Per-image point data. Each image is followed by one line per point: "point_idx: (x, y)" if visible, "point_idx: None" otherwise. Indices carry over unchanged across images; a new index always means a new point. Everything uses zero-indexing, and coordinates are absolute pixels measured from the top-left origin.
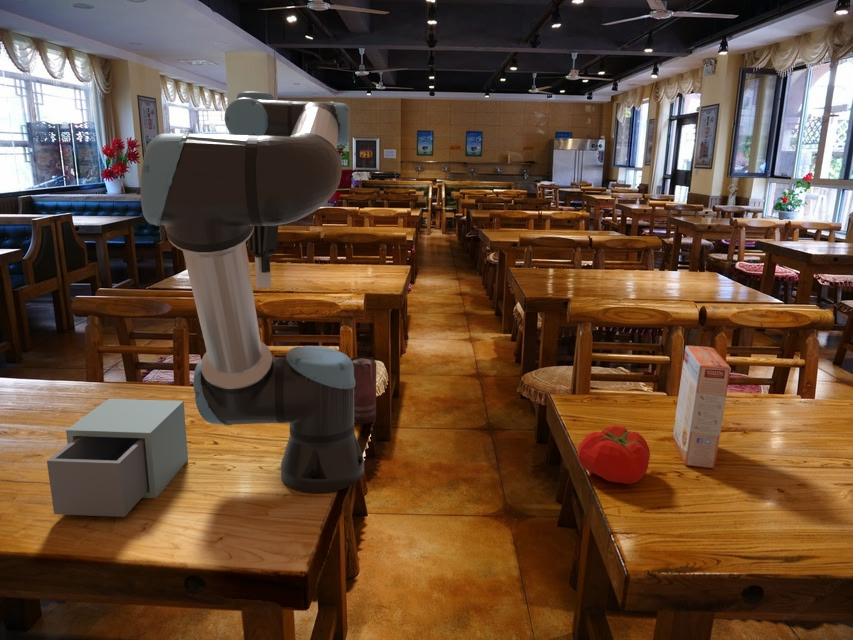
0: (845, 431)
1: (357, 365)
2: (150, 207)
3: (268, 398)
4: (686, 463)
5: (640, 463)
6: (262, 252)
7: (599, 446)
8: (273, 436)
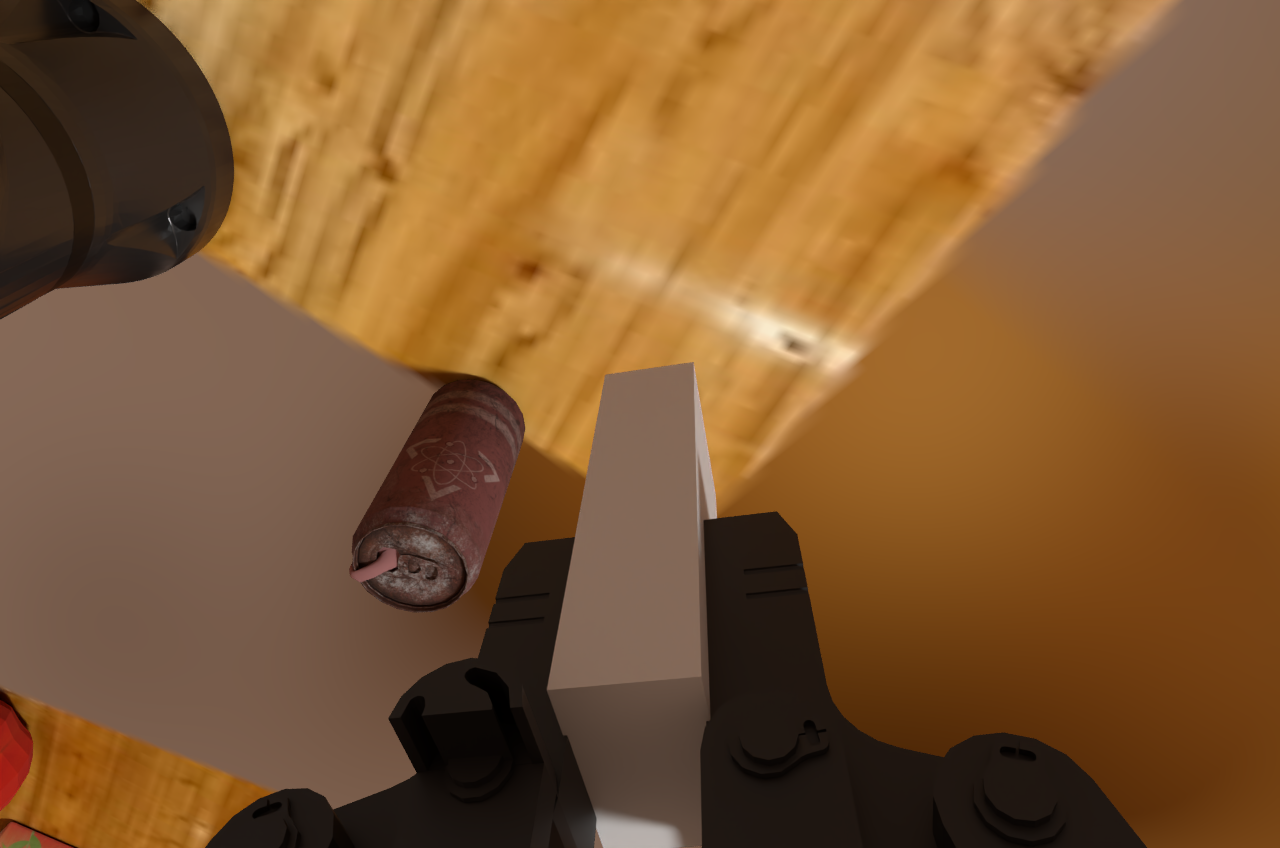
0: None
1: (366, 531)
2: None
3: None
4: (6, 826)
5: None
6: (410, 843)
7: None
8: (451, 67)
